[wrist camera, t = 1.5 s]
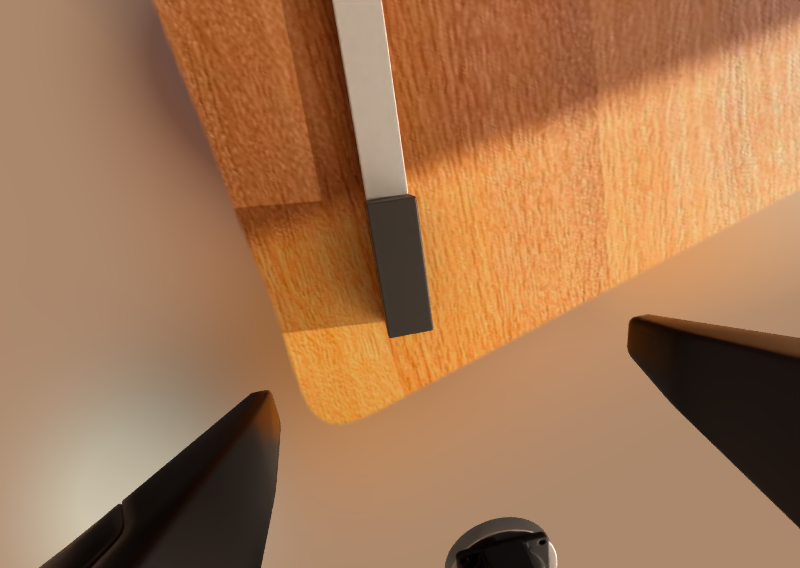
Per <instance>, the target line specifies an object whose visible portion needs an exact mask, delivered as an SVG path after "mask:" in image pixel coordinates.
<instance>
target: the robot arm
mask: <svg viewBox="0 0 800 568" xmlns="http://www.w3.org/2000/svg"><path fill="white" fill-rule="evenodd" d="M627 348H628V352H629V354H630V356H631V357H632V358H633V360H634V361H635V362H636V363H637V364H638V365H639V367H640V368H641V369H642V370H643V371H644V372H645V374H646V375H647V376H648V377H649V378H650V379H651V381H652V382H653V383H654V384H655V385H656V386H657V387H658V389H659V390H660V391H661V392H662V393H663V395H664V396H665V397H666V398H667V399H668V400H669V401H670V402H671V404H673V405H674V406H675V408H676V409H678V411H680V413H681V414H682V415H683V416H685V417H686V418H687V419H688V420H689V421H690V422H691V423H692V424H693V425H694V426H695V427H696V428H697V429H698V430H699V431H700V432H701V433H702V434H703V435H704V436H705V437H706V438H707V439H708V440H709V441H710V442H711V443H712V444H713V445H714V446H715V447H716V448H717V449H719V450H720V451H721V452H722V453H723V454H724V455H725V456H726V457H727V458H728V459H729V460H730V461H731V462H732V463H733V464H734V465H735V466H736V467H737V468H738V469H739V470H740V471H741V472H742V473H744V475H745V476H746V477H747V478H748V479H749V480H751V482H752V483H753V484H755V485H756V486H757V487H758V488H759V489H760V490H761V491H762V492H763V493H764V494H765V495H766V496H767V497H768V498H769V499H770V500H771V501H772V502H773V503H774V504H775V505H776V506H777V507H778V508H779V509H780V510H781V511H782V512H783V513H785V514H786V516H787V517H788V518H789V519H791V520H792V521H793V522H794V523H795V524H796V525H797V526H798V527H799V528H800V338H796V337H789V336H783V335H777V334H771V333H764V332H758V331H751V330H745V329H739V328H731V327H726V326H719V325H713V324H706V323H699V322H693V321H687V320H681V319H674V318H668V317H662V316H655V315H642V316H637V317H633V318H632V319H631V320H630V322H629V329H628V343H627ZM280 431H281V426H280V419H279V415H278V412H277V409H276V405H275V402H274V399H273V395H272V393H271V392H270V391H269V390H264V391H259V392H255V393H251V394H250V395H249V396H248V397H247V398H245V399H244V400H243V401H242V402H240V403H239V404H238V405H237V406H236V407H234V408H233V409H232V410H231V411H230V412H228V413H227V414H226V415H225V416H224V417H222V418H221V419H220V420H219V421H218V422H216V423H215V424H214V425H213V426H212V427H210V428H209V429H208V430H207V431H206V432H204V433H203V434H202V435H201V436H200V437H198V438H197V439H196V440H195V441H194V442H192V443H191V444H190V445H189V446H188V447H186V448H185V449H184V450H183V451H182V452H181V453H179V454H178V455H177V456H176V457H174V458H173V459H172V460H171V461H170V462H168V463H167V464H166V465H165V466H164V467H162V468H161V469H160V470H159V471H158V472H156V473H155V474H154V475H153V476H152V477H150V478H149V479H148V480H147V481H146V482H144V483H143V484H142V485H141V486H140V487H138V488H137V489H136V490H135V491H134V492H132V493H131V494H130V495H129V496H128V497H127V498H125V499H124V500H123V501H122V504H118V505H117V506H115V507H114V508H113V509H112V510H111V511H109V512H108V513H107V514H106V515H105V516H104V517H102V518H101V519H100V520H99V521H98V522H96V523H95V524H94V525H93V526H91V527H90V528H89V529H88V530H86V531H85V532H84V533H83V534H81V535H80V536H79V537H78V538H76V539H75V540H74V541H73V542H72V543H70V544H69V545H68V546H67V547H65V548H64V549H63V550H62V551H60V552H59V553H57V554H56V555H55V556H54V557H52V558H51V559H50V560H48V561H47V562H46V563H45V564H43V565H42V566H41V567H39V568H261V564H262V560H263V554H264V549H265V544H266V539H267V534H268V529H269V524H270V519H271V514H272V508H273V503H274V498H275V492H276V482H277V470H278V457H279V444H280ZM455 558H456V565H457V568H550V555H549V539H548V537H547V535H546V534H545V533H544V532H542V531H540V532H535V533H531V534H527V535H523V536H519V537H514V538H510V539H506V540H502V541H498V542H494V543H490V544H485V545H481V546H477V547H473V548H469V549H465V550H461V551H459V552H458V553H457V554H456V556H455Z"/></svg>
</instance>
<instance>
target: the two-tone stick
mask: <svg viewBox="0 0 800 568" xmlns="http://www.w3.org/2000/svg"><path fill="white" fill-rule="evenodd" d="M332 4H333V10H334V16H335V22H336V27H337V33H338V39H339V45H340V51H341V57H342V62H343V68H344V74H345V80H346V86H347V92H348V98H349V103H350V109H351V115H352V121H353V127H354V133H355V138H356V144H357V150H358V156H359V162H360V168H361V174H362V179H363V185H364V191H365V197H366V201H365V208H366V214H367V220H368V226H369V231H370V237H371V243H372V249H373V255H374V260H375V266H376V272H377V278H378V284H379V289H380V295H381V301H382V307H383V313H384V318H385V323H386V327H387V332H388V336H389V338H394V337H399V336H404V335H410V334H415V333H420V332H425V331H431V330H433V322H432V314H431V307H430V299H429V291H428V284H427V276H426V269H425V261H424V253H423V246H422V238H421V231H420V223H419V215H418V208H417V200H416V197H415V196H412V195H409V194H408V188H407V181H406V174H405V167H404V159H403V152H402V145H401V137H400V130H399V123H398V116H397V108H396V101H395V94H394V86H393V79H392V72H391V64H390V57H389V50H388V43H387V35H386V28H385V21H384V13H383V6H382V0H332Z"/></svg>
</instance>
